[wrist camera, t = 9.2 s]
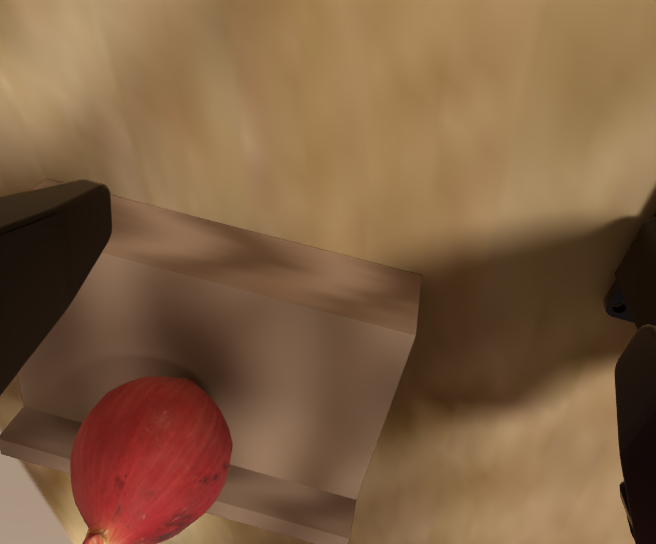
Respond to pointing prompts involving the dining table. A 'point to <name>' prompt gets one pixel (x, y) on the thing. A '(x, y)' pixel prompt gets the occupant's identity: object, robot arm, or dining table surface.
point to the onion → (149, 460)
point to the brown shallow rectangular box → (233, 358)
